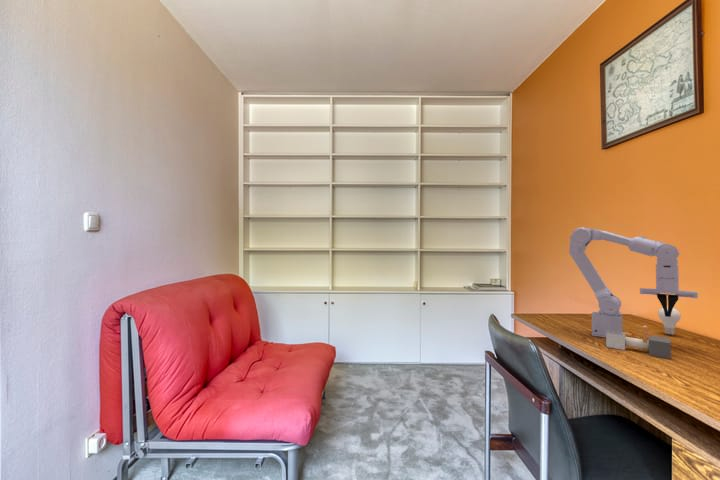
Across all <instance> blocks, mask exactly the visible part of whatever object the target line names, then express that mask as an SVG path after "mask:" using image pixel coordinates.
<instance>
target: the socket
mask: <svg viewBox="0 0 720 480" xmlns="http://www.w3.org/2000/svg"><path fill="white" fill-rule="evenodd" d="M648 340H649V350H648V351H649V352H648V355H649V356H650V357H656V358H663V359H667V360H672V347H671V346H672V343H671V339H670V337H665V336H664V337H663V336H656V335H650V334H649V335H648Z"/></svg>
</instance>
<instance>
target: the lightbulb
mask: <svg viewBox="0 0 720 480" xmlns="http://www.w3.org/2000/svg"><path fill="white" fill-rule="evenodd" d="M667 311H668V306H667ZM657 316H658V318H659V319H660V320H661V322H662V324H663V326H664V333H665V334H667V335H668V336H673V335H675V328H676V325H677V323H679V321H680V320H681V319H682V315H681V313H680V311H679V310H678V309H676V308H675V307H673V309H672V312H671V317H667V316H665V312H664V309H663V307H661V308H660V309H659V310H658V312H657Z"/></svg>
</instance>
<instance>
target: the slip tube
mask: <svg viewBox="0 0 720 480" xmlns="http://www.w3.org/2000/svg"><path fill="white" fill-rule="evenodd" d="M625 346H626V347H630V348H638V349H643V350H648V351H649V339H648V326H647V325H642V338H636V337H628V336H626V337H625Z"/></svg>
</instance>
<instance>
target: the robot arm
mask: <svg viewBox="0 0 720 480" xmlns="http://www.w3.org/2000/svg"><path fill="white" fill-rule="evenodd" d="M592 241H607V242H611V243H615V244H618V245H621V246H622V245H623V246H626V247H628V249H629V250H630V251H631V252H635V253H637V254H641V255H644V256H649V257H651V258H652V257H656V264H655V288H645V287H640V288H639V294H640V295H653V296H656V297H657V299H658V301H659V303H660V305H661V308H663V309H664V312H665V316H667V317H671V312H672V309H673V308H675V305H676V304H677V302H678V301H679V298H680V297H681V298H692V299H698V297H699V296H698V295H699V294H698V292H697V291H688V290H680V289H679V288H680V285H679V284H680V283H679V280H680V279H679V275H680V274H679V265H678V264H679V261H678V258H679V255H680V251H679V250H678V248H677V247H676V246H675V245H672V244H669V243H664V241H663V240H659V241H656V240H653V239H649V238H647V236H643V235H641V236H635V237H632V238H630V237H627V236H623V235H620V234H617V233H612V232H610V231H605V230H602V229H595V228H588V227H581V226H579V227H577V228H575V229H574V230H573V231H572V233H571V234H570V237H569V251H568V253H569V255H570V256H571V258H572V260H573V261H574V263H575V265H576V266H577V267H578V270H579V271H580V272H581V274H582V275H583V278H584V280H586V281H587V283H588V285H589V286H590V289H592V291H593V292H594V293H593V294H594V296H595V298H596V299H597V302H598V308H599V310H598V311H593V312H592V313H591V336H593V337H601V338H605V339H606V332H607V330H612V331H619V332H623V313H622V312H621V311H620V308H621V307H622V301H621V299H620V298H619V297H618V296H616V295H615V294H614V293H613V292H612V291H611V290H610V289H609V287H608V286H607V285H606V283H605V282H604V280H603V279H602V277H601V276H600V274H599V273H598V270H597V269H596V268H595V265H593V262H592V261H591V260H590V258H589V257H588V255H587V253H586V252H585V251H586V249H587V247H588V245H589V244H590V243H591V242H592ZM667 307H668V311H667Z"/></svg>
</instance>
